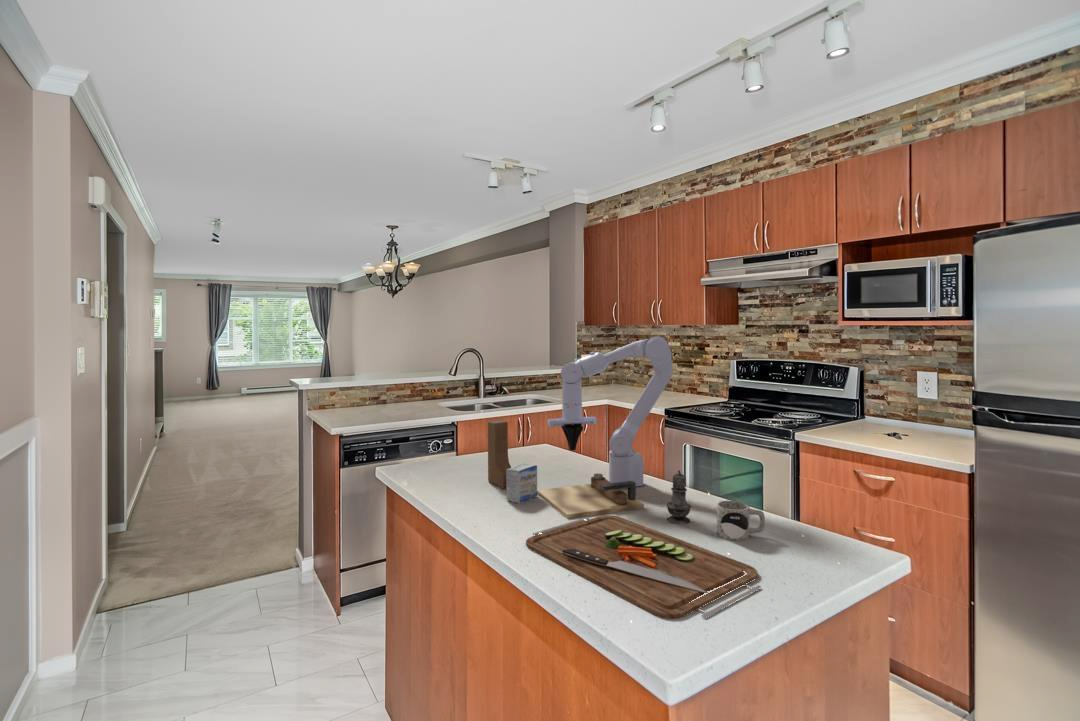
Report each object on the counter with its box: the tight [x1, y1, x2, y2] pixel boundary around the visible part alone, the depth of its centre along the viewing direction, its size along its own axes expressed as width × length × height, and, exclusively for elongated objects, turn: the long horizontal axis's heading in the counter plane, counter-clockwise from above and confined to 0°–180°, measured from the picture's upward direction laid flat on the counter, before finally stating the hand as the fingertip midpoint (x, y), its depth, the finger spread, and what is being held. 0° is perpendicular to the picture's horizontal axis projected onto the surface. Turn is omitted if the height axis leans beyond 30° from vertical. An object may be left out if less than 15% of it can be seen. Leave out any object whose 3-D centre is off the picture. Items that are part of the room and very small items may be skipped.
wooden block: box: [487, 419, 512, 489], centre depth 162 cm, size 9×4×18 cm, turn 34°
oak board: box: [537, 483, 645, 520], centre depth 147 cm, size 21×21×1 cm
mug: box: [716, 500, 766, 542], centre depth 122 cm, size 10×7×7 cm
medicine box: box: [506, 462, 538, 504], centre depth 149 cm, size 8×4×9 cm, turn 143°
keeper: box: [600, 481, 637, 500], centre depth 143 cm, size 9×2×6 cm, turn 111°
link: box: [590, 472, 628, 505], centre depth 149 cm, size 18×4×3 cm, turn 17°
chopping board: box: [525, 514, 762, 620], centre depth 111 cm, size 45×27×3 cm, turn 38°
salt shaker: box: [665, 469, 693, 525], centre depth 132 cm, size 6×6×12 cm
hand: (572, 449), depth 164 cm, fingers closed
